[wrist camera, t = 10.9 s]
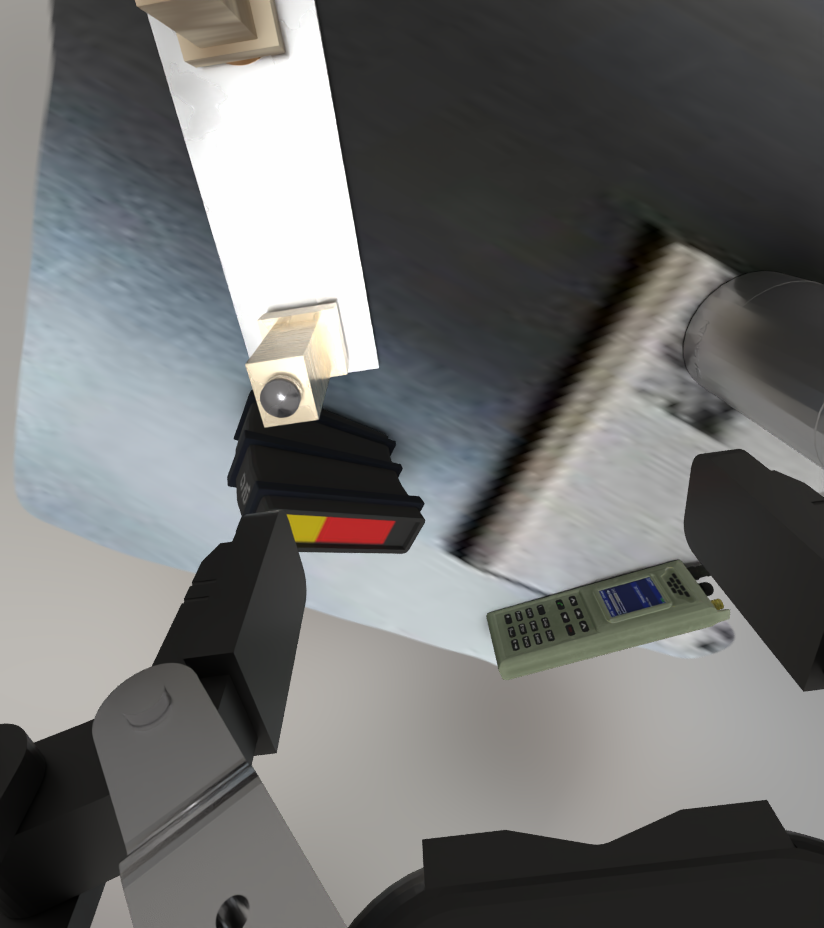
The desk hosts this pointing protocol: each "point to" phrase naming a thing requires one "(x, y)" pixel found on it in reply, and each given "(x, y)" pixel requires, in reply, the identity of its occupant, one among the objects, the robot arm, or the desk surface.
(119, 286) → the desk surface
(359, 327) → the bolt-hole plate
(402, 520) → the black boxy piece
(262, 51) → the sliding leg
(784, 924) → the robot arm
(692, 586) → the handheld radio
